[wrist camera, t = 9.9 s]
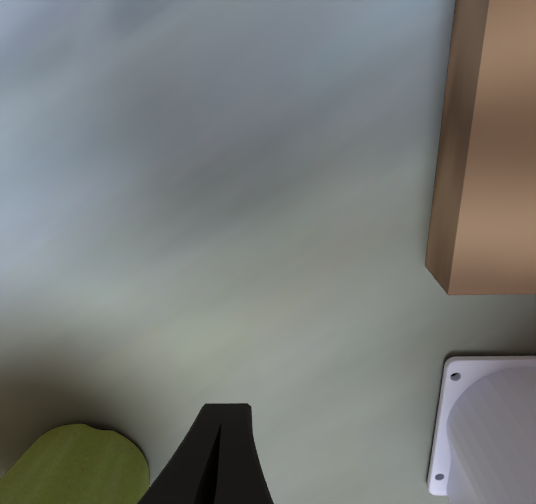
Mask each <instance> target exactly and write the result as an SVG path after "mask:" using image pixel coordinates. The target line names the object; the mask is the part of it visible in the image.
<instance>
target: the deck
mask: <svg viewBox="0 0 536 504" xmlns="http://www.w3.org/2000/svg"><path fill="white" fill-rule="evenodd" d="M425 267H426V268H427V269H428V270H429V272H430V273H431V274H432V275H433V277H434V278H435V279H436V280H437V282H438V283H439V284H440V286H441V287H442V288H443V289H444V291H445V292H446V293H447V294H448V295H483V294H536V0H456V4H455V12H454V21H453V30H452V38H451V47H450V56H449V64H448V73H447V82H446V90H445V99H444V108H443V116H442V125H441V134H440V142H439V151H438V160H437V168H436V177H435V185H434V194H433V203H432V211H431V220H430V229H429V237H428V246H427V255H426V263H425Z"/></svg>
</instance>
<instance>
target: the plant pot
mask: <svg viewBox="0 0 536 504" xmlns="http://www.w3.org/2000/svg"><path fill="white" fill-rule="evenodd" d="M149 482H150V472H149V467H148V464H147V462H146V460H145V458H144V456H143V454H142V453H141V451H140V450H139V449H138V448H137V447H136V446H135V445H134V444H133V443H132V442H131V441H129V440H128V439H127V438H125V437H124V436H122V435H120V434H118V433H116V432H114V431H111V430H98V429H95V428H92V427H89V426H88V425H86V424H70V425H64V426H59V427H56V428H54V429H51V430H49V431H47V432H46V433H44V434H43V435H42V436H40V437H39V438H38V439H37V440H36V441H35V442H34V443H33V444H32V445H31V446H30V448H29V449H28V450H27V451H26V452H25V453H24V454H23V455H22V456H21V457H20V458H19V459H18V460H17V462H16V463H15V464H14V465H13V466H12V467H11V468H10V469H9V470H8V471H7V472H6V474H5V475H4V476H3V477H2V478H1V479H0V504H137V502H138V501H139V500H140V499H141V498H142V496H143V495H144V494H145V493H146V491H147V490H148V489H149Z"/></svg>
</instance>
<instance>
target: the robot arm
mask: <svg viewBox="0 0 536 504" xmlns="http://www.w3.org/2000/svg"><path fill="white" fill-rule="evenodd" d="M453 373H457V374H456V375H455V376H451V375H452V374H453ZM437 474H438V475H437ZM427 487H428V490H429V492H430V493H431V494H433V495H447V497H448V499H449V502H450V504H536V356H462V357H451V358H449V359H448V360H447V361H446V363H445V366H444V373H443V379H442V386H441V393H440V400H439V407H438V413H437V420H436V427H435V434H434V441H433V447H432V454H431V461H430V468H429V475H428V481H427ZM137 504H274V503H273V501H272V498H271V495H270V493H269V490H268V487H267V484H266V481H265V478H264V475H263V472H262V469H261V466H260V462H259V458H258V455H257V451H256V447H255V443H254V438H253V430H252V411H251V406H250V405H249V404H247V403H239V404H205V405H204V406H203V407H202V408H201V410H200V412H199V414H198V416H197V418H196V419H195V421H194V423H193V425H192V426H191V428H190V430H189V431H188V433H187V435H186V436H185V438H184V440H183V441H182V443H181V444H180V446H179V447H178V449H177V450H176V452H175V453H174V455H173V456H172V458H171V459H170V461H169V462H168V464H167V465H166V466H165V468H164V469H163V470H162V472H161V473H160V474H159V476H158V477H157V478H156V480H155V481H154V482H153V484H152V485H151V486H150V488H149V489H148V490H147V491H146V493H145V494H144V495H143V496H142V498H141V499H140V500H139V501H138V502H137Z"/></svg>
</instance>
